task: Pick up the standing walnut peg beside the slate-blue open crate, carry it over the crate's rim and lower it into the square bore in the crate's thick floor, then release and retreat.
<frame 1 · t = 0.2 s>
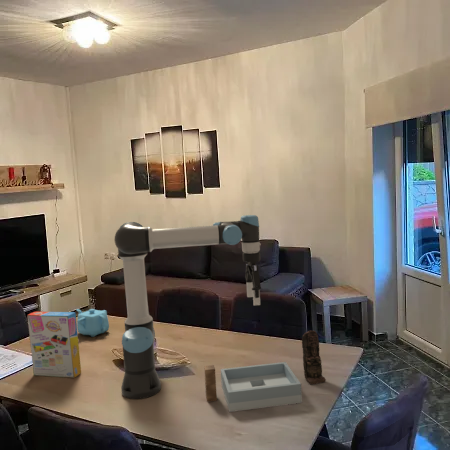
hand: (253, 300, 195), 28 cm above the table, fingers open, 13 cm apart
teapot: (91, 333, 251), on the table
peg: (211, 398, 168), on the table
crate: (259, 394, 170), on the table
statue: (313, 380, 179), on the table
game box: (57, 374, 198), on the table
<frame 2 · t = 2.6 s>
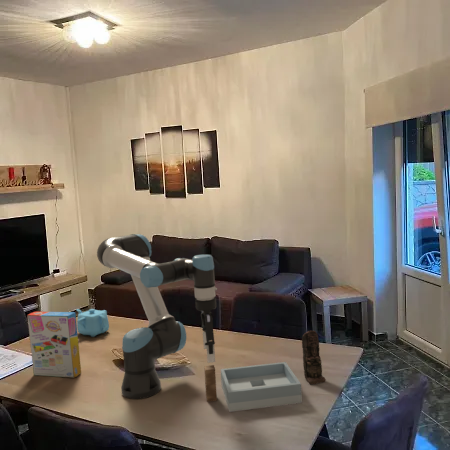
hand: (209, 355, 166), 17 cm above the table, fingers open, 13 cm apart
nothing on the table moved.
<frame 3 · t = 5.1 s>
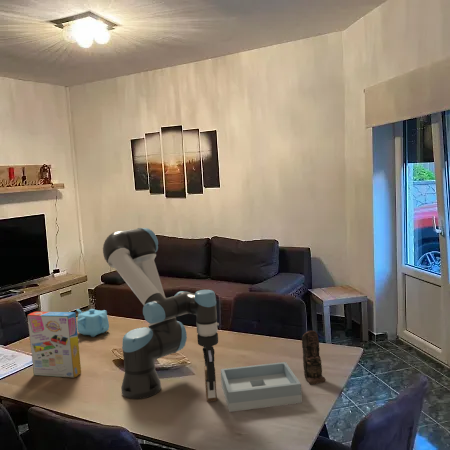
hand: (211, 394, 168), 2 cm above the table, fingers closed on peg, 4 cm apart
peg: (211, 398, 168), on the table, touching gripper
everything else where it was.
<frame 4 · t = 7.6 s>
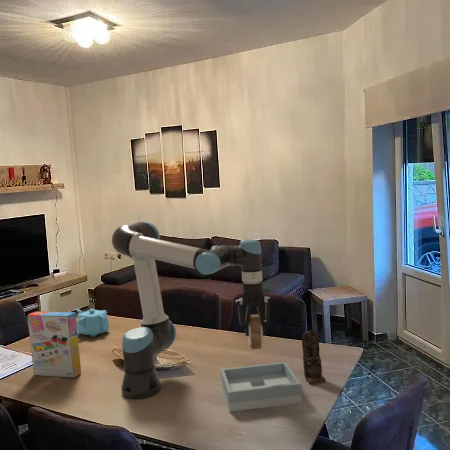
hand: (255, 343, 171), 19 cm above the table, fingers closed on peg, 4 cm apart
peg: (255, 347, 171), point 17 cm above the table, touching gripper
everything else where it was.
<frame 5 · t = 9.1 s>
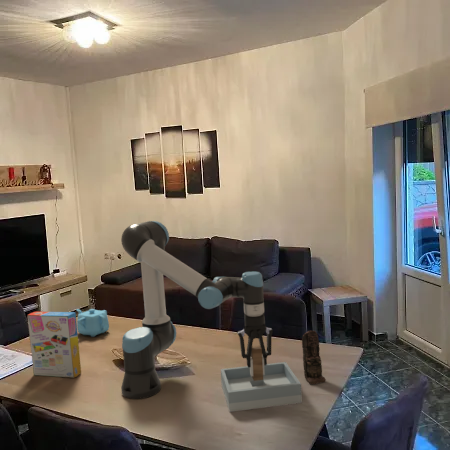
hand: (257, 374, 172), 7 cm above the table, fingers closed on peg, 4 cm apart
peg: (257, 378, 172), point 5 cm above the table, touching gripper
everything else where it was.
when the fingers open (4 cm above the table, at t = 10.2 s): peg drops 2 cm, resting in crate.
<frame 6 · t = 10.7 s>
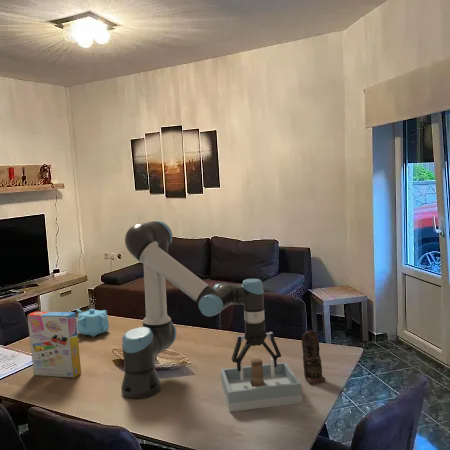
hand: (257, 377, 172), 5 cm above the table, fingers open, 11 cm apart
peg: (258, 390, 173), resting in crate
everything else where it was.
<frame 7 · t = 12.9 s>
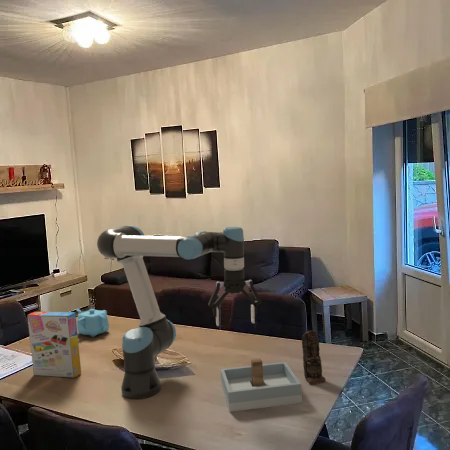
hand: (235, 323, 173), 25 cm above the table, fingers open, 13 cm apart
nothing on the table moved.
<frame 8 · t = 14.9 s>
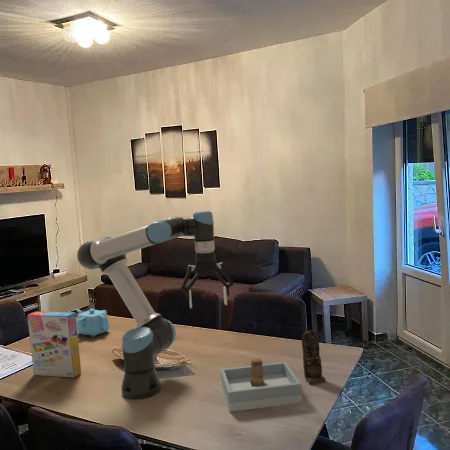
hand: (208, 305, 177), 32 cm above the table, fingers open, 13 cm apart
nothing on the table moved.
at the end: peg 0.0 cm from the target spot on the crate, point 0.0 cm above the crate's base; peg tilted 0°; the gripper is holding nothing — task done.
